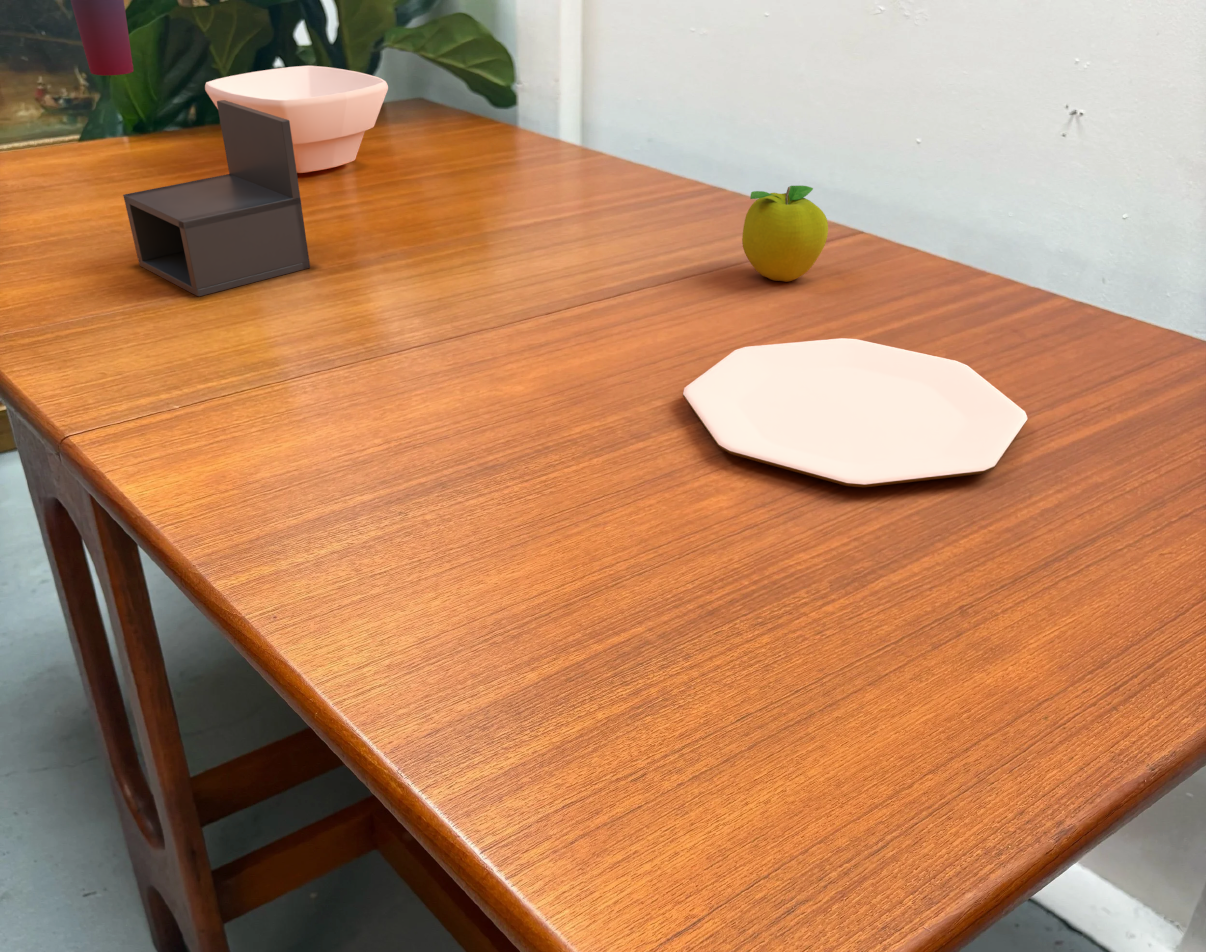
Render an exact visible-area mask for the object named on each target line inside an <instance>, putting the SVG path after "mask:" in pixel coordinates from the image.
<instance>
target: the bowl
mask: <svg viewBox="0 0 1206 952" xmlns="http://www.w3.org/2000/svg"><path fill="white" fill-rule="evenodd" d="M204 90H205V92H206V94H207V96H208V97H209V98H210V100H211V101H212V103H213V105H214V106H215V108H216V109H217V110H218V106H217V101H220V100H226V101H229V102H232V103H235V104H239V105H242V106H245V107H248V108H251V109H255V110H258V111H261V112H264V113H268V114H271V115H274V116H277V117H280V118H284V119H287V120H289V122H290V129H291V136H292V143H293V150H294V157H295V164H296V171H297V174H303V173H311V172H317V171H324V170H327V169H333V168H336V167H340V166H343V165H346V164H349V163H353V162H354V161H355V160H356V158H357V155H358V153H359V150H360V146H361V144H362V141H363V138H364V135H365V132H366V131H369V130H370V129H373V128H374V127H375V125H376V122H377V119H378V117H379V114H380V112H381V108H382V106H383V103H384V100H385V98H386V95H387V93H388V90H389V86H388V83H387V81H386V80H384V79H382V78H381V77H379V76H374V75H371V74H368V73H364V72H360V71H354V70H348V69H343V68H337V67H330V66H329V67H328V66H320V65H319V66H317V65H299V66H298V65H297V66H288V67H279V68H271V69H265V70H257V71H251V72H245V73H239V74H234V75H230V76H224V77H220V78H216V79H213V80H209V81H206V82H205V85H204Z"/></svg>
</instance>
